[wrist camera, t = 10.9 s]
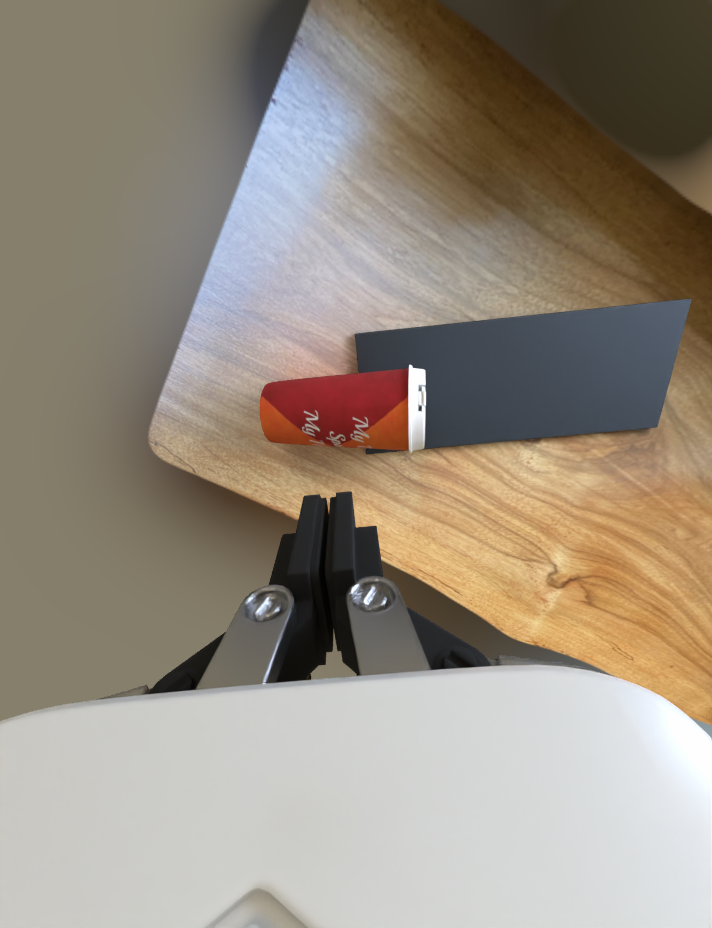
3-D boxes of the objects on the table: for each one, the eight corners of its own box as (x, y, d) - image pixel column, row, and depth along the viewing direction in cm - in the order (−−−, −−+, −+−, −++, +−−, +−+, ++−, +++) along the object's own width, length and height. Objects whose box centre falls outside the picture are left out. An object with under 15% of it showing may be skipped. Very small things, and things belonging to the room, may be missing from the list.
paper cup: (250, 445, 29) (426, 444, 26) (257, 355, 30) (426, 347, 27) (285, 460, 36) (423, 460, 34) (289, 388, 37) (424, 383, 35)
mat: (366, 452, 38) (366, 454, 37) (355, 333, 33) (355, 334, 32) (653, 425, 37) (657, 427, 36) (686, 299, 32) (692, 298, 31)
